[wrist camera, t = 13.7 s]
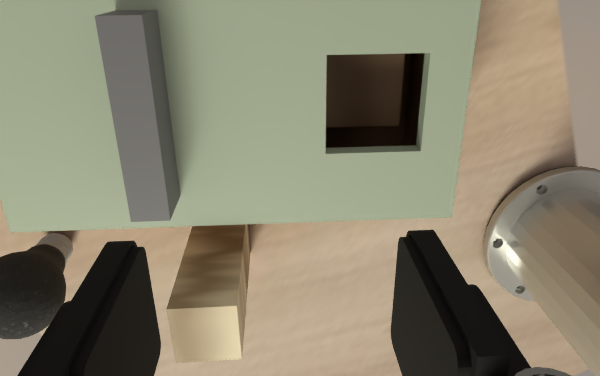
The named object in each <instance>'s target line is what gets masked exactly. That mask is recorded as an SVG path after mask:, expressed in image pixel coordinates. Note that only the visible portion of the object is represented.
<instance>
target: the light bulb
mask: <svg viewBox="0 0 600 376" xmlns="http://www.w3.org/2000/svg"><path fill="white" fill-rule="evenodd" d="M72 251H73V245H72V242H71V241H70V239H69V238H67V237H66V236H65V235H63V234H59V233H50V234H48V235H46V236H45V237H43V238H42V239H41V240H40V241H39V243H38V244H37V245H36V246H34V247H31V248H30V249H29V250H27V251H23V252H16V253H11V254H7V255H5V256H2V257H0V338H2V339H21V338H24V337H29V336H31V335H34V334H36V333H38V332H40V331H41V330H43V329H44V328H46V327H47V326H48V325H49V324H50V323H51V321H52V320H53V318H54V317H55V315H56V314H57V312H58V310H59V309H60V307H61V306H62V305H63V303H64V301H65V295H66V283H65V278H64V275H63V271H64V269H65V263H66V262H67V260H68V259H69V257H70V255H71V253H72Z"/></svg>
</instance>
